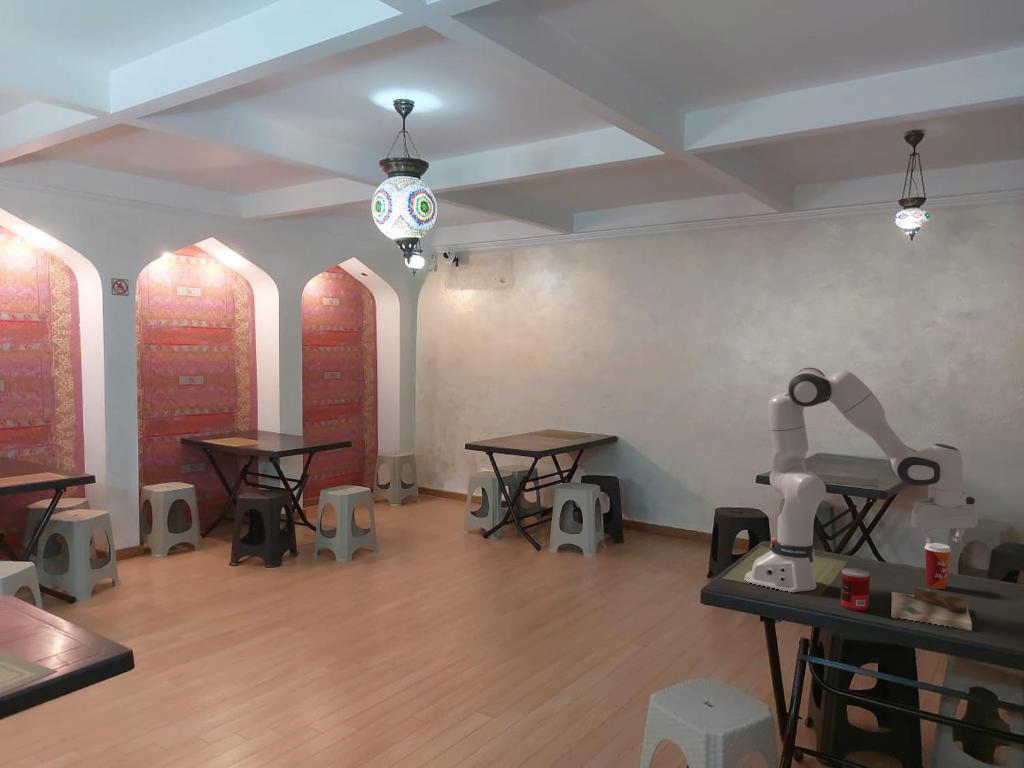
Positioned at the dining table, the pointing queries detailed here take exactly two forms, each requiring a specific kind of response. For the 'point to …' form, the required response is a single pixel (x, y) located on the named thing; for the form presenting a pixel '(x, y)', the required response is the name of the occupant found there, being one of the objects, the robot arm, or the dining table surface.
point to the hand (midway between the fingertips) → (943, 542)
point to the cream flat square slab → (927, 612)
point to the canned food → (855, 589)
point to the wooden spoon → (942, 599)
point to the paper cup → (937, 565)
